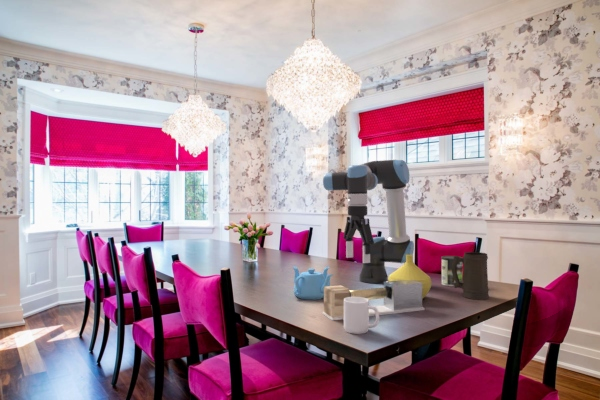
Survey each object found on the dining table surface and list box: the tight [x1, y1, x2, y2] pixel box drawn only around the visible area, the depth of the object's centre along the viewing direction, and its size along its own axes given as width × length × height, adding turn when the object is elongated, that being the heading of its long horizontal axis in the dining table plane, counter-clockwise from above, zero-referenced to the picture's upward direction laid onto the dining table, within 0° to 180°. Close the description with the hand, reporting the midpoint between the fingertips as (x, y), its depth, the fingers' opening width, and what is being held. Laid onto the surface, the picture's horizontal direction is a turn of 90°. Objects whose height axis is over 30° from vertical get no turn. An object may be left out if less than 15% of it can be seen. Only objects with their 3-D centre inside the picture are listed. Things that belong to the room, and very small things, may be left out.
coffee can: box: [441, 255, 463, 287], centre depth 204 cm, size 10×10×14 cm
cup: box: [343, 297, 380, 335], centre depth 131 cm, size 8×12×10 cm
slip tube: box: [349, 287, 387, 301], centre depth 152 cm, size 20×4×4 cm, turn 110°
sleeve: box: [383, 280, 423, 311], centre depth 158 cm, size 7×13×10 cm, turn 110°
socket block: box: [323, 284, 350, 317], centre depth 148 cm, size 7×7×10 cm
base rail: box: [321, 304, 425, 321], centre depth 154 cm, size 9×40×1 cm, turn 110°
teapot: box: [292, 265, 334, 301], centre depth 179 cm, size 17×19×12 cm
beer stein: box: [452, 251, 490, 301], centre depth 178 cm, size 15×11×20 cm
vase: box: [387, 254, 432, 300], centre depth 175 cm, size 18×18×19 cm
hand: (357, 260), depth 154 cm, fingers open, 13 cm apart
